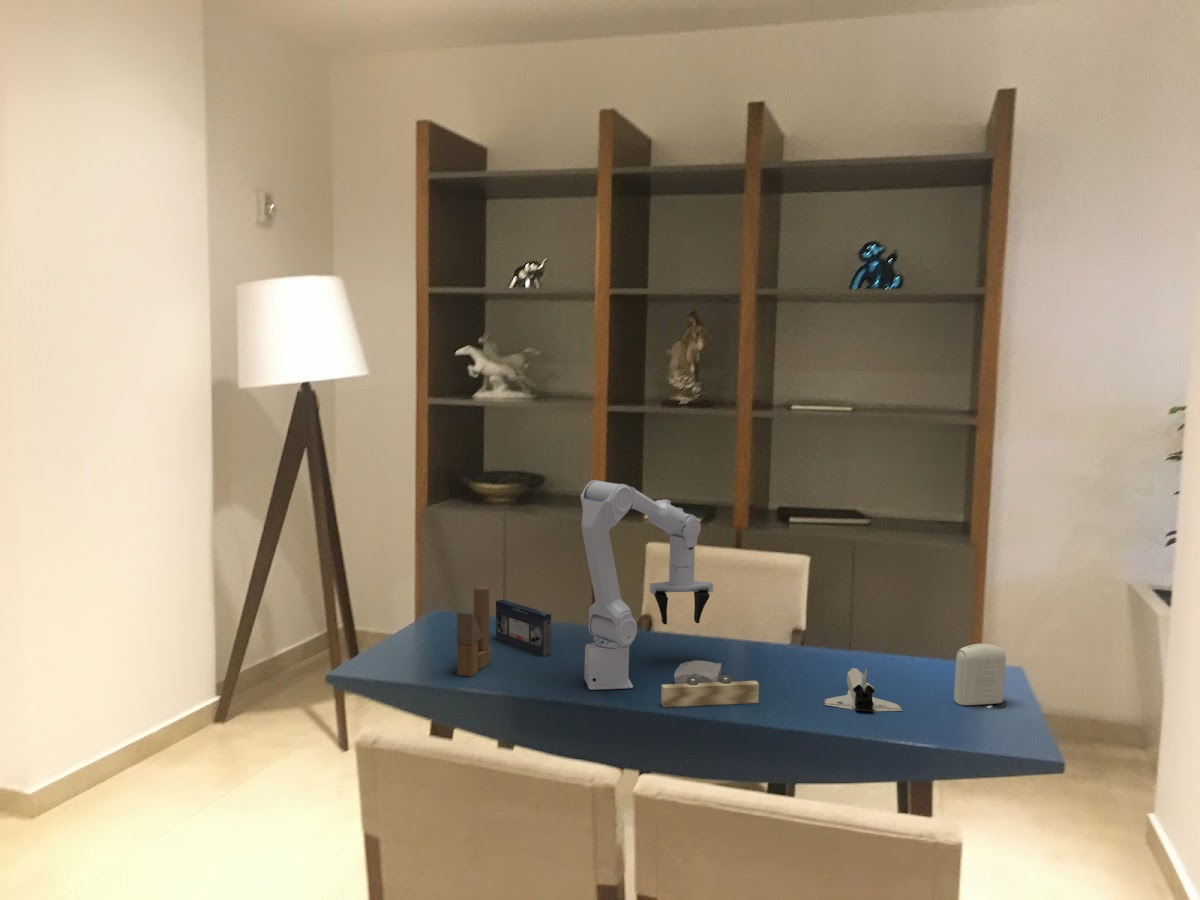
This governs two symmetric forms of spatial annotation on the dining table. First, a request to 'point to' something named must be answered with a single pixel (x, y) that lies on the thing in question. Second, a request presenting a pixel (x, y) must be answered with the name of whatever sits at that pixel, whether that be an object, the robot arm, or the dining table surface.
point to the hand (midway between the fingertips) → (680, 622)
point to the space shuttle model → (860, 695)
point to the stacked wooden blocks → (474, 635)
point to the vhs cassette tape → (523, 627)
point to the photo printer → (979, 675)
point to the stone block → (698, 672)
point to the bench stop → (709, 692)
